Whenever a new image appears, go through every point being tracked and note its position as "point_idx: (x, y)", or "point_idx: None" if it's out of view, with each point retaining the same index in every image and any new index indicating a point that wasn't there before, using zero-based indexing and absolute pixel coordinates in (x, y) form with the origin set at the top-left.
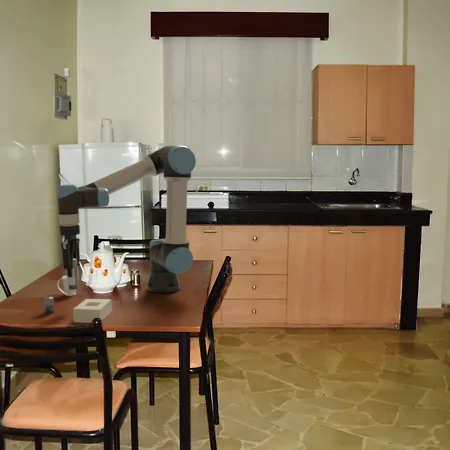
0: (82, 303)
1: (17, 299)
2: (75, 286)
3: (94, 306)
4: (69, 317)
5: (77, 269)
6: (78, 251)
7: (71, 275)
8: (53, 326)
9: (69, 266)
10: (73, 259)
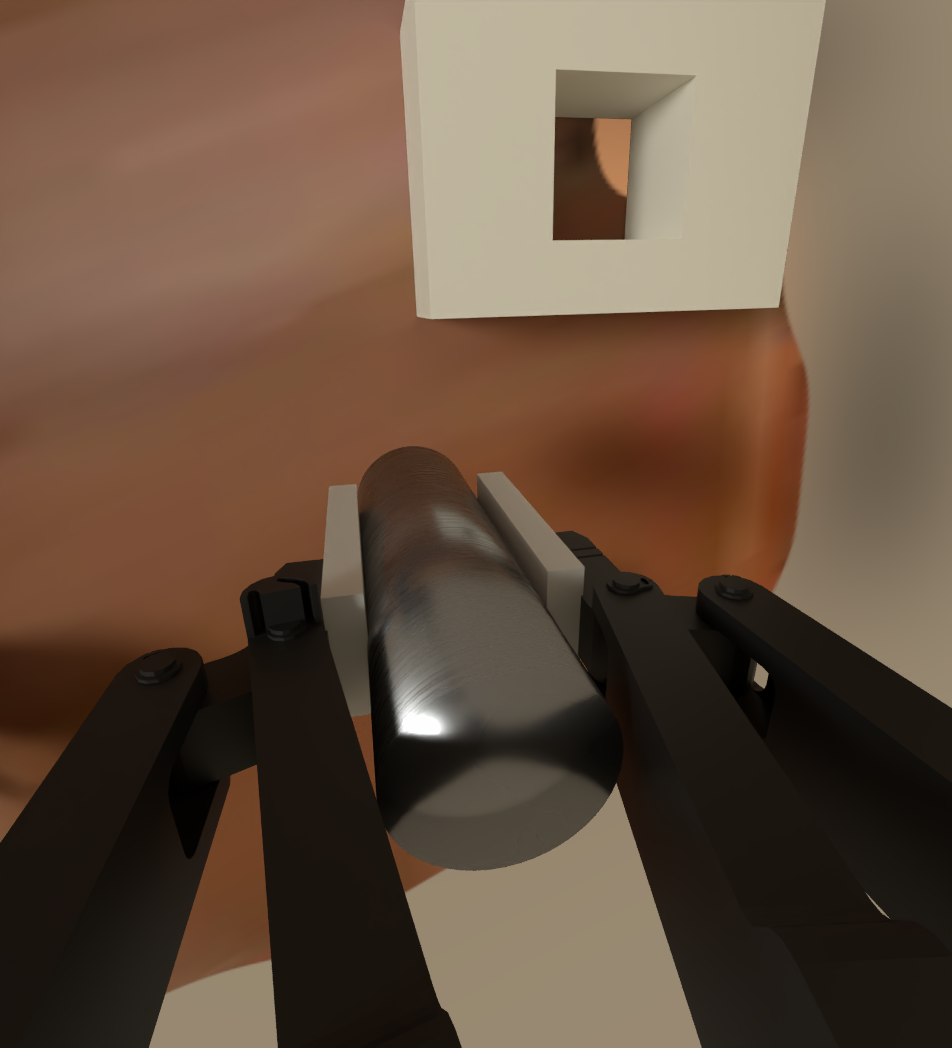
0: (605, 290)
1: (223, 930)
2: (454, 469)
3: (710, 105)
4: (593, 393)
5: (358, 563)
6: (53, 948)
7: (571, 541)
8: (785, 415)
9: (769, 601)
10: (587, 697)
